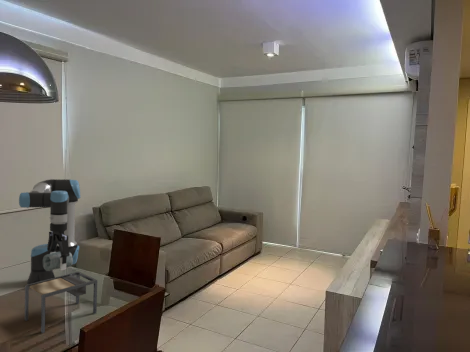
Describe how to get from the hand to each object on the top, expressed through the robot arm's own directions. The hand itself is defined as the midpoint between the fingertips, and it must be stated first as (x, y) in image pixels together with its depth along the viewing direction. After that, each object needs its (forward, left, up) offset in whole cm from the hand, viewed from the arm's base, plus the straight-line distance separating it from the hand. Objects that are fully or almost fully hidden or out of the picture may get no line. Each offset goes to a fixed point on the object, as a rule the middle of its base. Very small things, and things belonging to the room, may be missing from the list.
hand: (57, 267), depth 173 cm
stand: (0, +2, -26) cm, 26 cm away
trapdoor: (0, 0, -14) cm, 14 cm away
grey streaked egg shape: (0, 0, -1) cm, 1 cm away
